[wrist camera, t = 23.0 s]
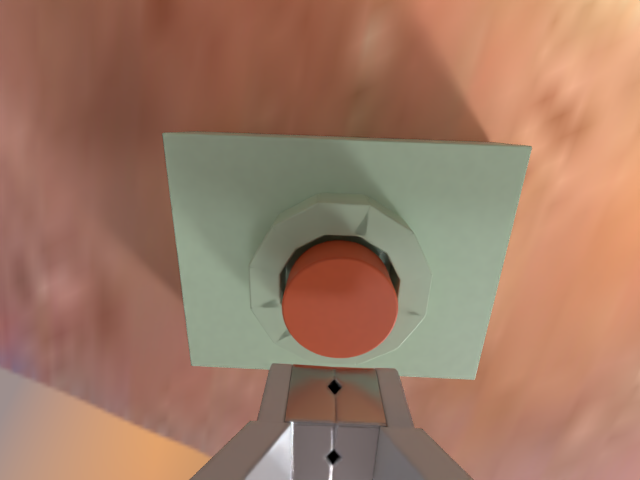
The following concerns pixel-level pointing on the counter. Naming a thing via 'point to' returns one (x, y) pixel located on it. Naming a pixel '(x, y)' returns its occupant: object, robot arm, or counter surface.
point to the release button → (339, 300)
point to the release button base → (341, 224)
